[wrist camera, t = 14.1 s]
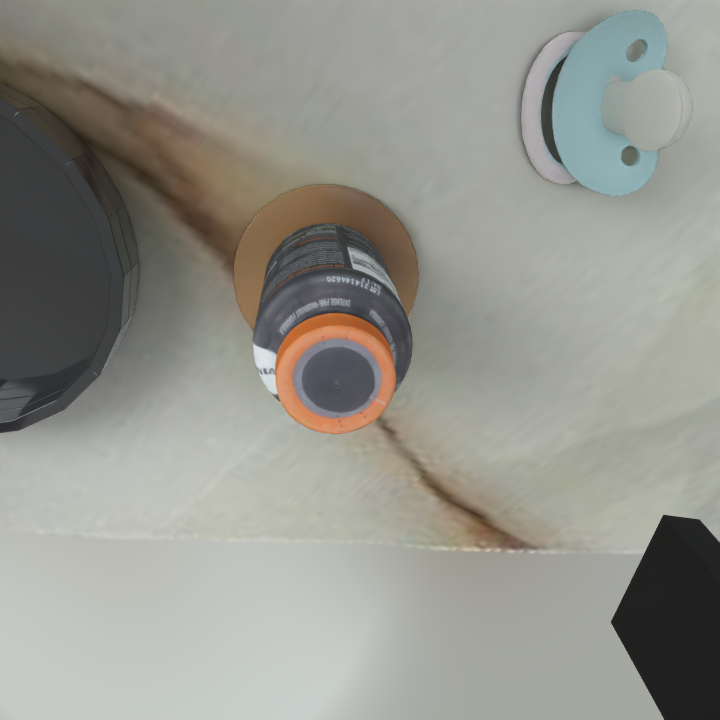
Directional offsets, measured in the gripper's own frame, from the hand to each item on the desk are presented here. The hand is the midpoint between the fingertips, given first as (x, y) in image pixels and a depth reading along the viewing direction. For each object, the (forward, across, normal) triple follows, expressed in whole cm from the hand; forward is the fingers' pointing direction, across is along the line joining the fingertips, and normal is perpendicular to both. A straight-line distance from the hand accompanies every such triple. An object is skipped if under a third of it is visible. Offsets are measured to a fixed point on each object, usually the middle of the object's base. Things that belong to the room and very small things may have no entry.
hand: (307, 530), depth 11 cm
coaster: (+21, +1, -2) cm, 22 cm away
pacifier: (+22, +11, +8) cm, 26 cm away
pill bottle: (+21, +1, -2) cm, 21 cm away
